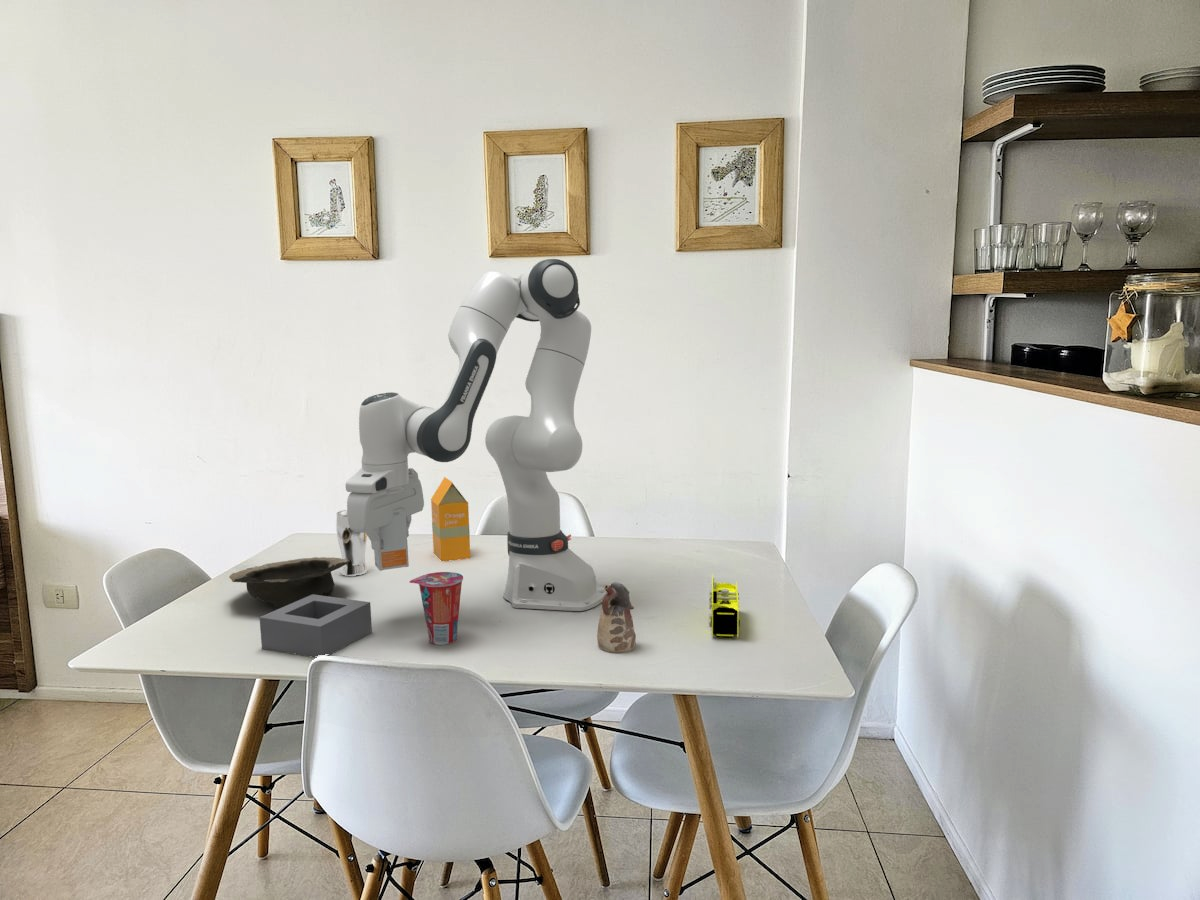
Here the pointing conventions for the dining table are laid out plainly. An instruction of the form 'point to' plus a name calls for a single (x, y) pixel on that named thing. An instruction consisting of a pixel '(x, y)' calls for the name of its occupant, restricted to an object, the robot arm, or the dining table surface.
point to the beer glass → (351, 546)
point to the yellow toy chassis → (724, 609)
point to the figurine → (616, 621)
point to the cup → (441, 605)
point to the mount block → (315, 625)
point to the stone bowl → (290, 579)
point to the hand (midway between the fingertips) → (390, 543)
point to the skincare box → (393, 543)
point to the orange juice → (450, 523)
